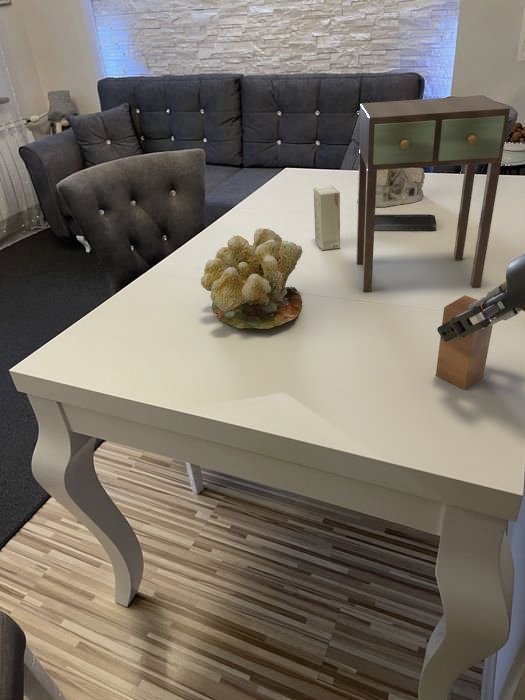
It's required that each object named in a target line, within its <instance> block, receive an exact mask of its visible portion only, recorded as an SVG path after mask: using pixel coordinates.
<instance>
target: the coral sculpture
mask: <svg viewBox="0 0 525 700" xmlns="http://www.w3.org/2000/svg"><path fill="white" fill-rule="evenodd" d="M226 245H227V246H222V247H220V248H219V249H217V251H216V254H215V258H213V259H208V260H207V261H206V263H205V266H204V272H203V276H202V277H201V278H200V284H201V287H202V288H203V289H205V290H206V291H207V292H210V299H211V301H212V303H211V309H212V312H213V314H216V319H218V320H219V321H222V322H224V323H225V324H227V325H229V326H231V327H233V328H237V329H261V330H262V329H264V330H269V329H272V328H275V327H276V326H277V327H279V326H281V325H284V324H286V323H287V322H291V321H292V320H294V319H296V318H298V316H299V315H300V313H301V311H302V309H303V298H302V295H301V294H300V292H299V291H298V290H297V288H296V286H286V285H287V281H288V279H289V276H290V275H291V274H292V272H293V271H294V270H296V266H297V265H298V261H299V260H300V259H301V257H302V255H303V248H302V246H301V245H299V244H297V243H295V242H293V241H288V240H283V238H282V237H281V236H280V235H279V233H278V234H277V233H276V232H275V231H274V230H272V229H270V228H264V227H258V228H257V229H255V231H254V233H253V243H252V244H250V243H249V241H248V240H247V239H246V238H245V237H243V236H241V235H238V234H237V235H233V236H231V237H230V238H228V240H227V243H226Z"/></svg>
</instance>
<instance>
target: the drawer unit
mask: <svg viewBox="0 0 525 700" xmlns="http://www.w3.org/2000/svg"><path fill="white" fill-rule="evenodd" d="M359 106H360V108H359V109H360V110H359V142H358V143H359V144H358V145H359V146H358V149H359V150H358V179H357V180H358V181H357V182H358V183H357V184H358V186H357V200H358V203H357V219H356V220H357V221H356V224H357V225H356V257H355V259H356V261H355V262H356V265H362V267H363V268H362V292H363V293H372V290H373V272H374V271H373V269H374V268H373V267H374V247H375V246H374V245H375V230H374V226H375V215H376V207H375V204H376V181H377V170H383V169H400V168H433V167H451V166H464V171H463V172H464V174H463V180H462V189H461V194H460V196H461V197H460V202H459V211H458V219H457V226H456V232H455V233H456V234H455V241H454V248H453V249H454V250H453V256H452V257H453V259H454V261H463V259H464V253H465V246H466V238H467V231H468V225H469V218H470V211H471V204H472V196H473V189H474V182H475V175H476V167H477V165H486V164H488V166H487V171H486V172H487V173H486V179H485V186H484V190H483V198H482V205H481V212H480V217H479V223H478V231H477V237H476V242H475V250H474V256H473V262H472V268H471V269H472V270H471V276H470V281H469V282H470V283H469V285H470V287H471V288H472V289H476V288H477V289H478V288H479V289H480V288H481V287H482V282H483V276H484V268H485V263H486V257H487V251H488V246H489V239H490V233H491V228H492V222H493V215H494V209H495V203H496V196H497V191H498V185H499V178H500V172H501V168H502V167H501V166H502V161H503V154H504V149H505V142H506V137H507V130H508V125H509V118H510V111H511V108H510V107H508V106H506V105H504V104H502V103H500V102H498V101H496V100H494V99H491V98H490V97H487V96H485V95H483V94H480V95H479V94H478V95H466V96H453V97H452V96H450V97H438V98H437V97H436V98H423V99H409V100H393V101H377V102H376V101H375V102H363V103H360V104H359Z"/></svg>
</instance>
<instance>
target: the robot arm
mask: <svg viewBox="0 0 525 700" xmlns="http://www.w3.org/2000/svg"><path fill="white" fill-rule="evenodd" d="M483 302H484V303H483ZM481 303H483V304H482V308H483V309H482V308H481V306H480V304H481ZM522 311H523V312H524V313H525V253H523V254H522V255H519V256H518V257H516V258H515V259H513V260H512V261H511V262H510V263H509V264H508V266H507V267H506V272H505V282H503V283H501V284H500V285H498V286H496V287H494V288H493V289H490V291H488V292H487V294H486V295H485V296H483V297H481V298H479V299H477V301H476V302H474V303H472V304H470V305H469V307H468V311H466V312H464V313H462V314H458V315H456V316H457V317H453V318H452V320H450V321H449V322H447V323H445V324H443V325H442V324H441V325H439V326H438V327H437V328H436V329H437V333H438V334H439V337H441V338H442V339H443V341H445V342H447V341H449V340H451V339H453V338H455V337H457V336H459V338H461V337H465V336H467V335H468V334H470V333H472V332H475V331H477V330H479V329H485V328H487V327H489V326H491V325H493V326H494V325H495V324H497V323H500V322H501V321H508V320H509V319H511V318H514V317H515V316H517V315H519V314H520V312H522ZM488 317H489V318H490V319H491V318H494V319H492V320H489V319H488Z"/></svg>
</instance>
